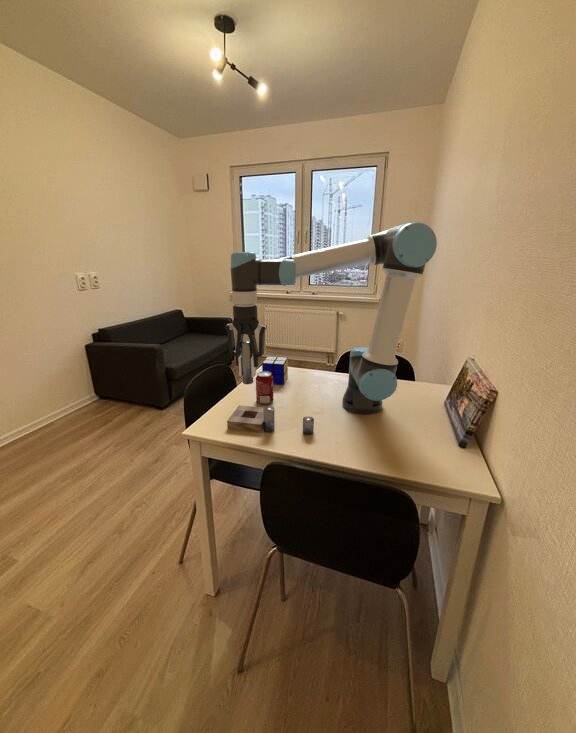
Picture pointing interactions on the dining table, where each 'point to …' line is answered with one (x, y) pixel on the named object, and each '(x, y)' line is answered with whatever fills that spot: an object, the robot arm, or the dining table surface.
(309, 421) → the short pin
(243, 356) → the long pin
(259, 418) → the hole block
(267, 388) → the soda can
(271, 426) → the medium pin
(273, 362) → the puzzle cube
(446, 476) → the dining table surface
